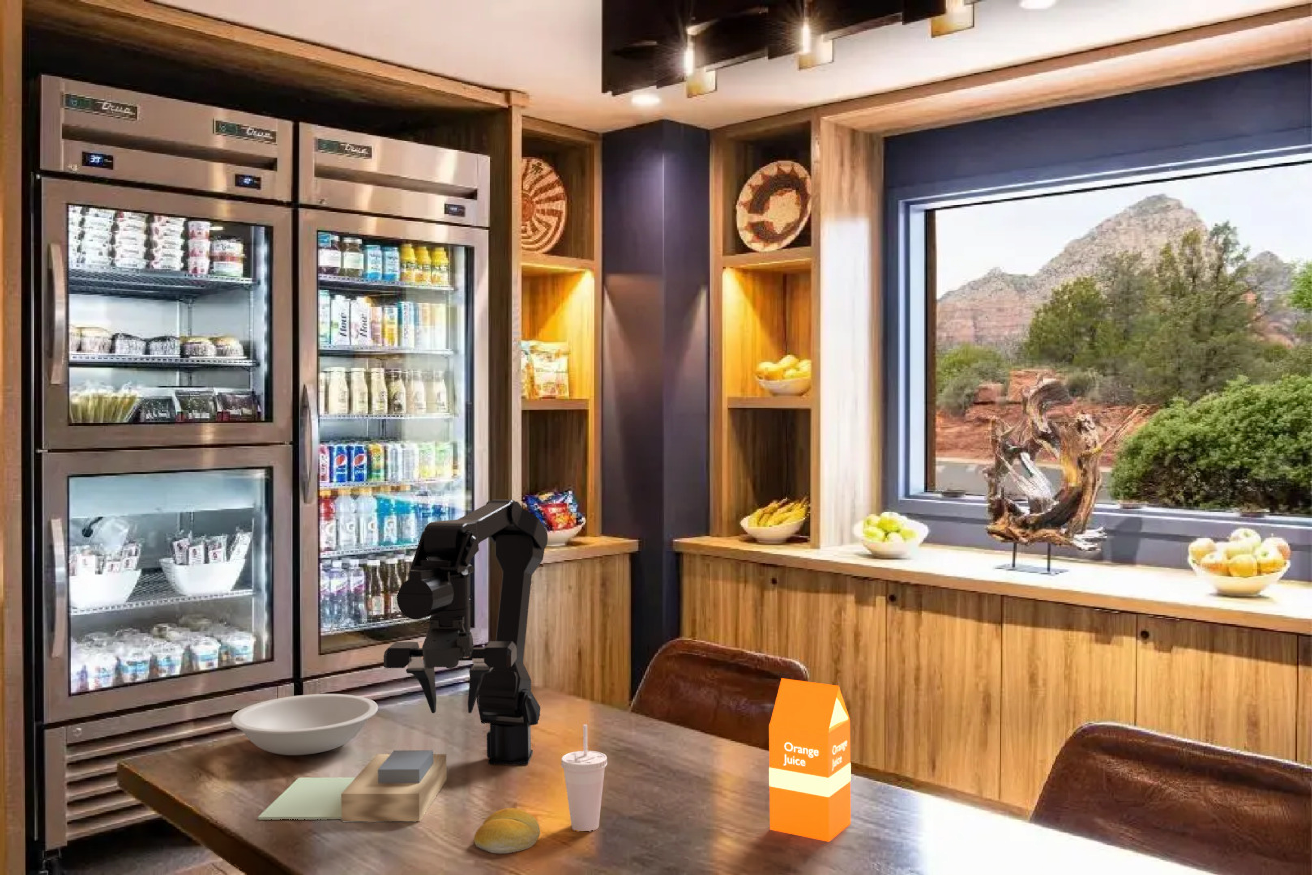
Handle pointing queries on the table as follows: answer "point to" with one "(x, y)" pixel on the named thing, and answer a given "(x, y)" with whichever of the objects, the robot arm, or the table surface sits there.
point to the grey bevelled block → (405, 766)
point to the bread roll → (507, 831)
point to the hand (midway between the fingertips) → (452, 712)
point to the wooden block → (391, 794)
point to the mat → (309, 800)
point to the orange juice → (809, 761)
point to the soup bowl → (304, 722)
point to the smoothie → (584, 785)
